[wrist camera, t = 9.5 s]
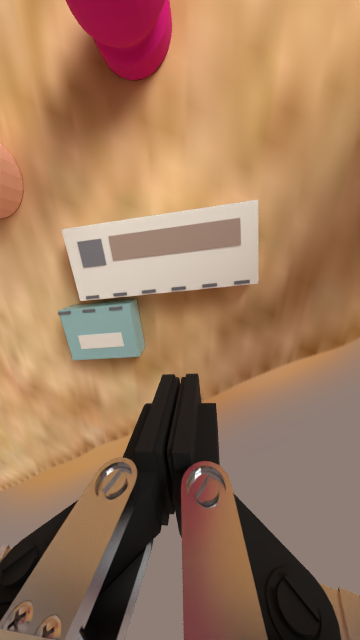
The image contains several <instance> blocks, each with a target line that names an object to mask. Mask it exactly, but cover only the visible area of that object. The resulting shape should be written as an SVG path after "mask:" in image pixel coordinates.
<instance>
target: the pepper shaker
mask: <svg viewBox="0 0 360 640" xmlns="http://www.w3.org/2000/svg"><path fill="white" fill-rule="evenodd" d="M22 195H23V181H22V176H21V173H20V170H19V167H18V165H17V163H16V161H15V160H14V158H13V156H12V155H11V154H10V153H9V151H8V150H7V149H6V148H5V147H4V146H3V145H2V144H0V219H1V218H5V217H9V216H10V215H11V214H13V213H14V212H16V210H17V208H18V207H19V205H20V203H21V200H22Z"/></svg>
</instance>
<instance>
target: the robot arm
mask: <svg viewBox="0 0 360 640" xmlns="http://www.w3.org/2000/svg"><path fill="white" fill-rule="evenodd" d="M174 512H176V517H177V522H178V528H179V532H180V535H181V537H182V569H183V621H184V640H360V595H357V594H355V593H352V592H350V591H348V590H345V589H343V588H340V587H339V588H338V591H337V590H335V589H332V588H330V587H327V586H325V585H323V584H321V583H318V582H317V580H316V579H315V578H314V577H313V575H312V574H311V573H310V572H309V571H308V570H307V569H306V568H305V567H304V566H303V565H302V564H301V563H300V562H299V561H298V560H297V559H296V558H295V557H294V556H293V555H292V554H291V553H290V552H289V550H288V549H287V548H286V547H285V546H284V545H283V544H282V543H281V542H280V541H279V540H278V539H277V538H276V537H275V536H274V535H273V534H272V533H271V532H270V531H269V530H268V529H267V528H266V527H265V526H264V525H263V523H262V522H261V521H260V520H259V519H258V518H257V517H256V516H255V515H254V514H253V513H252V512H251V511H250V510H249V509H248V508H247V507H246V506H245V505H244V504H243V503H242V502H241V501H240V500H239V499H238V497H236V495H234V493H233V490H232V486H231V482H230V479H229V477H228V475H227V473H226V472H225V471H224V470H223V468H222V467H220V465H219V445H218V427H217V412H216V403H201V395H200V386H199V377H198V374H186V377H182V379H181V384H180V380H179V377H175V375H174V374H169V375H162V378H161V381H160V383H159V386H158V389H157V392H156V394H155V397H154V400H153V402H152V403H146V404H145V405H144V407H143V409H142V412H141V414H140V417H139V419H138V421H137V424H136V426H135V429H134V431H133V434H132V436H131V438H130V441H129V443H128V446H127V449H126V451H125V453H124V456H123V458H116V459H113V460H111V461H109V462H107V463H106V464H104V465H103V466H102V467H101V468H100V469H99V470H98V471H97V472H96V474H95V475H94V477H93V478H92V480H91V481H90V483H89V484H88V486H87V488H86V489H85V491H84V492H83V494H82V495H81V497H80V498H79V500H77V501H76V502H75V503H73V504H72V505H70V506H69V507H68V508H66V509H65V510H63V511H62V512H61V513H59V514H58V515H56V516H55V517H54V518H52V519H51V520H49V521H48V522H47V523H45V524H44V525H42V526H41V527H40V528H38V529H37V530H36V531H34V532H33V533H31V534H30V535H28V536H27V537H26V538H24V539H23V540H22V541H20V542H19V543H18V544H17V545H16V546H14V547H13V548H10V547H9V545H4V546H0V640H125V637H126V634H127V630H128V627H129V624H130V620H131V617H132V614H133V610H134V607H135V603H136V600H137V597H138V593H139V590H140V587H141V583H142V580H143V577H144V574H145V570H146V567H147V564H148V560H149V557H150V554H151V550H152V545H153V539H154V538H155V537H156V536H157V535H158V534H159V533H160V531H161V525H168V521H169V514H174Z"/></svg>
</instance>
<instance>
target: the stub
mask: <svg viewBox="0 0 360 640" xmlns="http://www.w3.org/2000/svg"><path fill="white" fill-rule="evenodd" d="M58 314H59V315H60V318H61V321H62V325H63V328H64V331H65V335H66V338H67V341H68V345H69V348H70V352H71V355H72V358H73V360H89V359H107V358H124V357H139V356H140V355H141V353H142V351H143V350H144V348H145V343H144V337H143V332H142V326H141V321H140V315H139V310H138V304H137V299H132V300H122V301H112V302H101V303H91V304H81V305H72V306H69V307H67V308H64V309H62V310H59V312H58Z"/></svg>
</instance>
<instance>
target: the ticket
mask: <svg viewBox="0 0 360 640" xmlns="http://www.w3.org/2000/svg"><path fill="white" fill-rule="evenodd" d="M62 233H63V237H64V241H65V245H66V248H67V252H68V256H69V260H70V264H71V268H72V271H73V275H74V279H75V283H76V287H77V290H78V294H79V298H80V301H87V300H97V299H107V298H117V297H127V296H137V295H148V294H158V293H168V292H178V291H188V290H198V289H208V288H218V287H229V286H239V285H249V284H258V200H252V201H245V202H239V203H232V204H225V205H219V206H212V207H205V208H199V209H192V210H186V211H179V212H172V213H166V214H159V215H152V216H146V217H139V218H133V219H126V220H119V221H113V222H106V223H99V224H93V225H86V226H80V227H73V228H66V229H62Z"/></svg>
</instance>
